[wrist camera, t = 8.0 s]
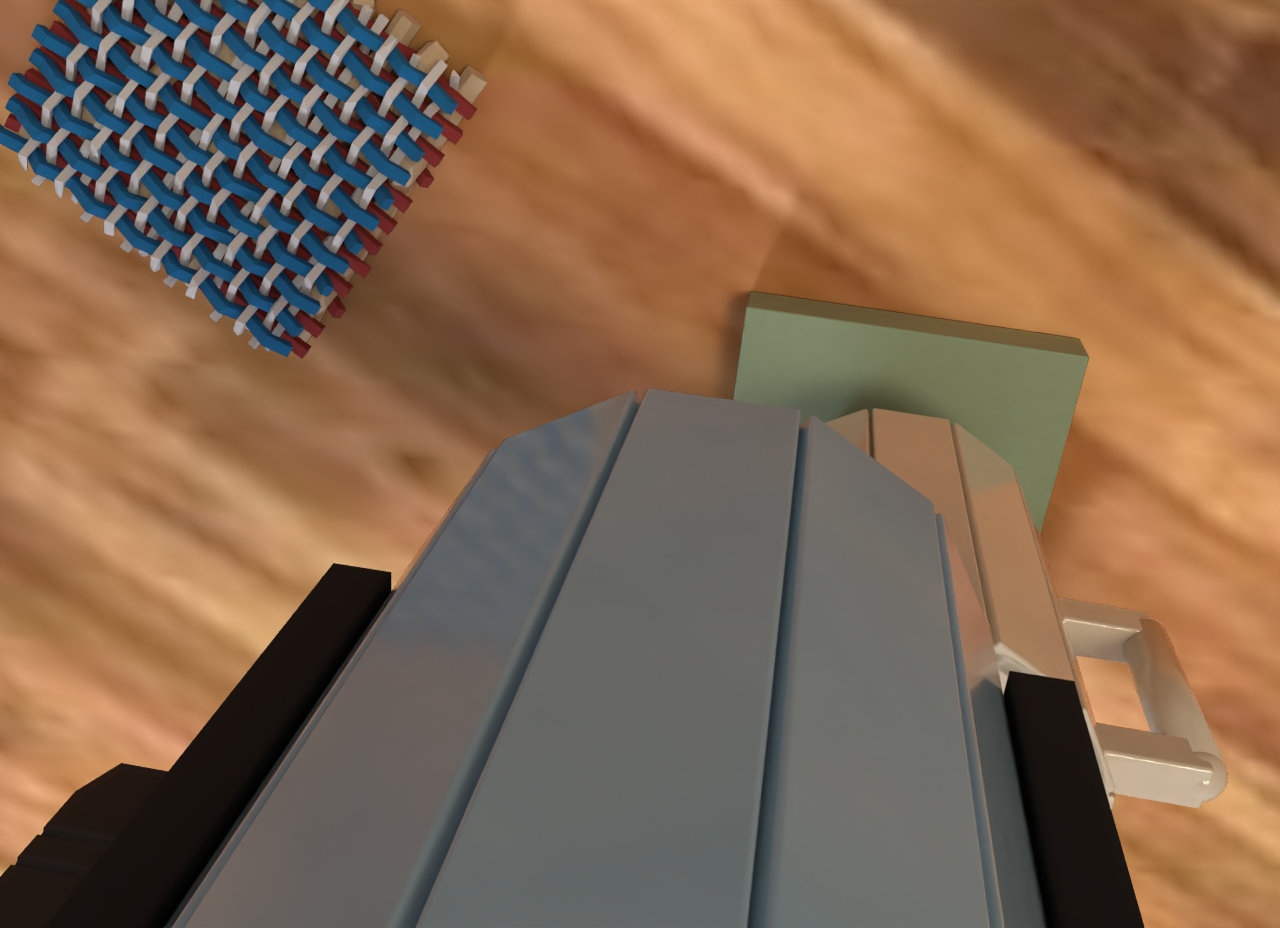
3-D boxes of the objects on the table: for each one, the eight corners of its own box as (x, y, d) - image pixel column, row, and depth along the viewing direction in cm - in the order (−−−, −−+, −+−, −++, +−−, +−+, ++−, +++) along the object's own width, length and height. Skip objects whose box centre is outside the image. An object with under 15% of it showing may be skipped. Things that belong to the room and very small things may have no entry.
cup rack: (663, 883, 43) (590, 1264, 31) (750, 290, 34) (693, 505, 22) (918, 933, 42) (944, 1344, 30) (1080, 338, 33) (1213, 590, 21)
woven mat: (311, 364, 37) (284, 388, 35) (14, 135, 35) (-32, 148, 34) (506, 88, 33) (486, 99, 31) (176, -187, 31) (134, -193, 29)
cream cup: (1104, 710, 33) (1200, 1015, 24) (719, 643, 34) (671, 911, 25) (1187, 454, 29) (1336, 696, 20) (758, 389, 30) (719, 592, 21)
